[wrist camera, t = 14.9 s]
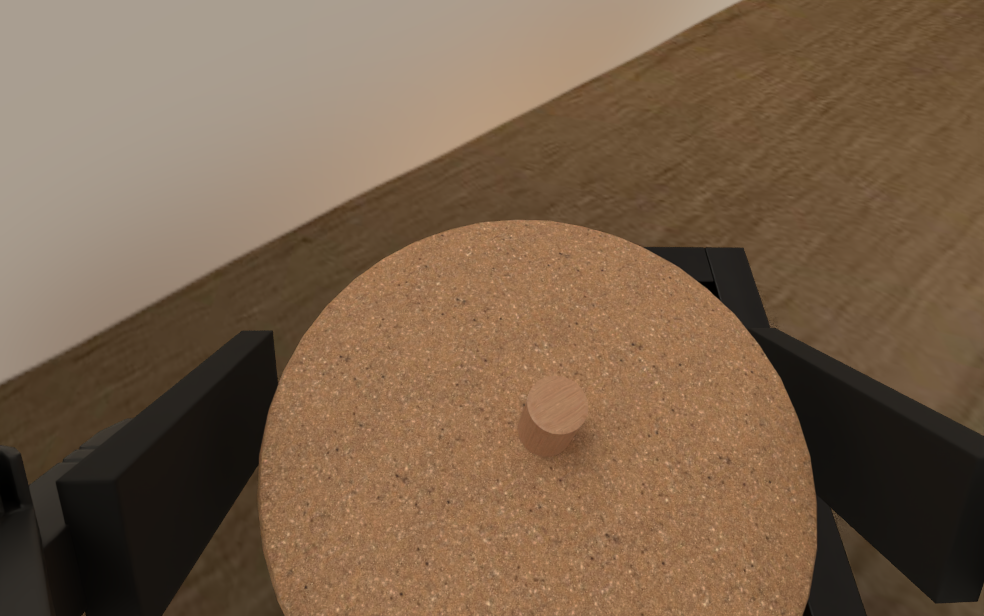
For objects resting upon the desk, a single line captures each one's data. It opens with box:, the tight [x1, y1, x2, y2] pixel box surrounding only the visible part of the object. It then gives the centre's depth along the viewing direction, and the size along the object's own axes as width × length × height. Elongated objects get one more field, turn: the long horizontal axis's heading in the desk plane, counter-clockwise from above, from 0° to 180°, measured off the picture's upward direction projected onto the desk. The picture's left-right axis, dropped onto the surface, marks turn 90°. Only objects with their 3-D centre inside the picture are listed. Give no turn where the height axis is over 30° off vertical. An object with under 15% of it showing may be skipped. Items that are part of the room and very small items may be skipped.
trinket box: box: [257, 220, 817, 616], centre depth 13 cm, size 11×11×9 cm
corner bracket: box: [642, 247, 867, 616], centre depth 16 cm, size 12×16×2 cm
